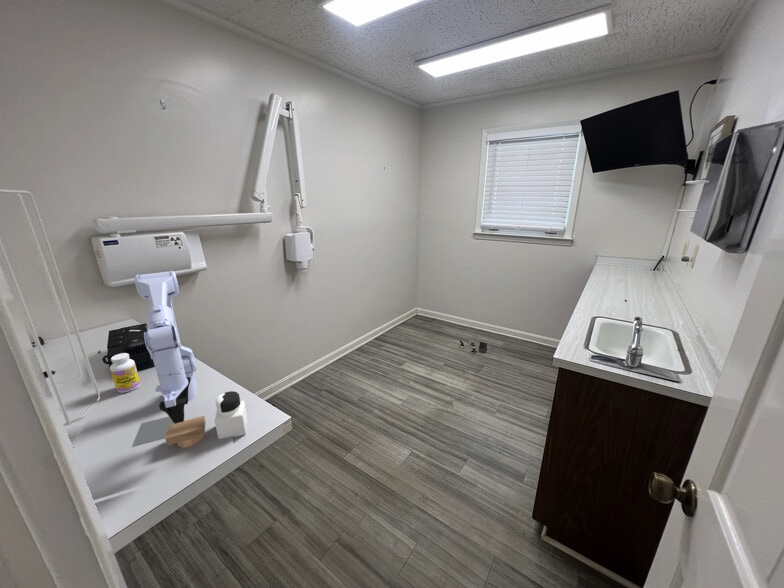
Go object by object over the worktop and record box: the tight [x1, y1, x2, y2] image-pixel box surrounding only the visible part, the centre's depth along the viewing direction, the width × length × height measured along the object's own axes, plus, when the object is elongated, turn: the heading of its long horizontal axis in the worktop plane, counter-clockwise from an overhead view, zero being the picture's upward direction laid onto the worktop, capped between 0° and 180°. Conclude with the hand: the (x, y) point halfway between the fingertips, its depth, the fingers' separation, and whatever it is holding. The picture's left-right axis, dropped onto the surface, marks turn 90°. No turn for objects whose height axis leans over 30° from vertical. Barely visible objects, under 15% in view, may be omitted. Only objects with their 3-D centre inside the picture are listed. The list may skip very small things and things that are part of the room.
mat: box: [131, 416, 174, 448], centre depth 91 cm, size 10×10×1 cm
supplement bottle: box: [109, 352, 141, 394], centre depth 108 cm, size 7×7×13 cm
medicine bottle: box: [214, 390, 248, 440], centre depth 90 cm, size 7×7×12 cm
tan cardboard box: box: [164, 415, 207, 446], centre depth 86 cm, size 6×8×2 cm, turn 116°
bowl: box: [176, 436, 202, 449], centre depth 87 cm, size 6×6×3 cm
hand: (181, 412), depth 84 cm, fingers open, 7 cm apart
